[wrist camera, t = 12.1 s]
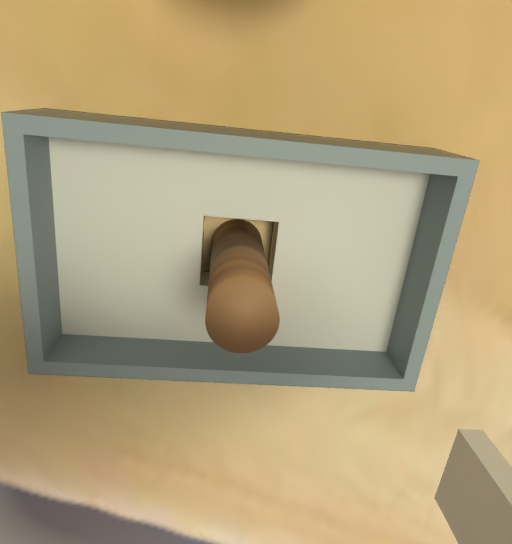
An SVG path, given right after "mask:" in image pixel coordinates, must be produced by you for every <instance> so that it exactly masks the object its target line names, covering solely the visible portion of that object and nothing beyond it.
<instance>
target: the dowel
mask: <svg viewBox="0 0 512 544" xmlns="http://www.w3.org/2000/svg"><path fill="white" fill-rule="evenodd" d="M279 323H280V316H279V311H278V307H277V303H276V298H275V294H274V290H273V286H272V282H271V278H270V273H269V269H268V265H267V261H266V257H265V252H264V248H263V244H262V240H261V236H260V233H259V231H258V230H257V228H256V227H255V226H254V225H253V224H251V223H250V222H248V221H245V220H241V219H233V220H229V221H226V222H224V223H223V224H221V225H220V226H219V227H218V228H217V230H216V231H215V233H214V236H213V241H212V251H211V262H210V273H209V284H208V295H207V305H206V316H205V325H206V330H207V332H208V335H209V336H210V338H211V339H212V341H213V342H214V343H215V344H216V345H218V346H219V347H220V348H222V349H224V350H227V351H229V352H233V353H250V352H254V351H257V350H259V349H261V348H263V347H265V346H266V345H267V344H269V343H270V342H271V341H272V339H273V338H274V337H275V335H276V333H277V331H278V328H279Z"/></svg>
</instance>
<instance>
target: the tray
mask: <svg viewBox="0 0 512 544" xmlns="http://www.w3.org/2000/svg"><path fill="white" fill-rule="evenodd" d="M1 117H2V126H3V136H4V145H5V155H6V164H7V174H8V183H9V193H10V202H11V212H12V221H13V231H14V240H15V250H16V259H17V269H18V278H19V288H20V297H21V307H22V316H23V326H24V335H25V345H26V354H27V364H28V373H29V374H41V375H63V376H84V377H106V378H128V379H149V380H171V381H193V382H214V383H236V384H258V385H279V386H301V387H323V388H344V389H366V390H388V391H409V392H414V390H415V386H416V383H417V379H418V376H419V372H420V369H421V365H422V362H423V358H424V355H425V351H426V347H427V344H428V340H429V337H430V333H431V330H432V326H433V323H434V319H435V316H436V312H437V309H438V305H439V302H440V298H441V295H442V291H443V288H444V284H445V281H446V277H447V274H448V270H449V267H450V263H451V260H452V256H453V252H454V249H455V245H456V242H457V238H458V235H459V231H460V228H461V224H462V221H463V217H464V214H465V210H466V207H467V203H468V200H469V196H470V193H471V189H472V186H473V182H474V179H475V175H476V172H477V168H478V165H479V161H480V160H476V159H472V158H469V157H465V156H461V155H457V154H454V153H450V152H446V151H443V150H439V149H435V148H428V147H418V146H408V145H398V144H389V143H379V142H369V141H360V140H350V139H340V138H330V137H321V136H311V135H301V134H291V133H282V132H272V131H262V130H253V129H243V128H233V127H223V126H214V125H204V124H194V123H184V122H175V121H165V120H155V119H145V118H136V117H126V116H116V115H107V114H97V113H87V112H77V111H68V110H58V109H48V108H42V109H31V110H19V111H8V112H1ZM205 216H213V217H226V218H238V219H250V220H262V221H274V226H273V234H272V243H271V251H270V259H269V267H268V269H269V273H270V278H271V282H272V286H273V290H274V294H275V298H276V303H277V307H278V311H279V316H280V323H279V328H278V331H277V333H276V335H275V337H274V338H273V339H272V341H271V342H270V343H269V344H267V345H266V346H265V347H263V348H261V349H259V350H257V351H254V352H250V353H233V352H229V351H227V350H224V349H222V348H220V347H219V346H218V345H216V344H215V343H214V342H213V341H212V339H211V338H210V336H209V335H208V332H207V330H206V325H205V316H206V305H207V295H208V284H209V273H210V272H201V269H202V252H203V236H204V219H205Z"/></svg>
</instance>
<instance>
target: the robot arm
mask: <svg viewBox="0 0 512 544" xmlns="http://www.w3.org/2000/svg"><path fill="white" fill-rule="evenodd" d="M435 499H436V501H437V503H438V505H439V507H440V509H441V511H442V513H443V515H444V517H445V519H446V520H447V522H448V524H449V526H450V528H451V530H452V532H453V534H454V536H455V538H456V540H457V541H458V543H459V544H512V467H511V466H510V465H509V463H508V462H507V461H506V460H505V458H504V457H503V456H502V454H501V453H500V452H499V450H498V449H497V448H496V447H495V445H494V444H493V443H492V441H491V440H490V439H489V437H488V436H487V435H486V434H485V432H484V431H483V430H465V429H458V432H457V435H456V438H455V441H454V444H453V446H452V449H451V452H450V455H449V458H448V461H447V464H446V466H445V469H444V472H443V475H442V478H441V481H440V484H439V486H438V489H437V492H436V495H435Z"/></svg>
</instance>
